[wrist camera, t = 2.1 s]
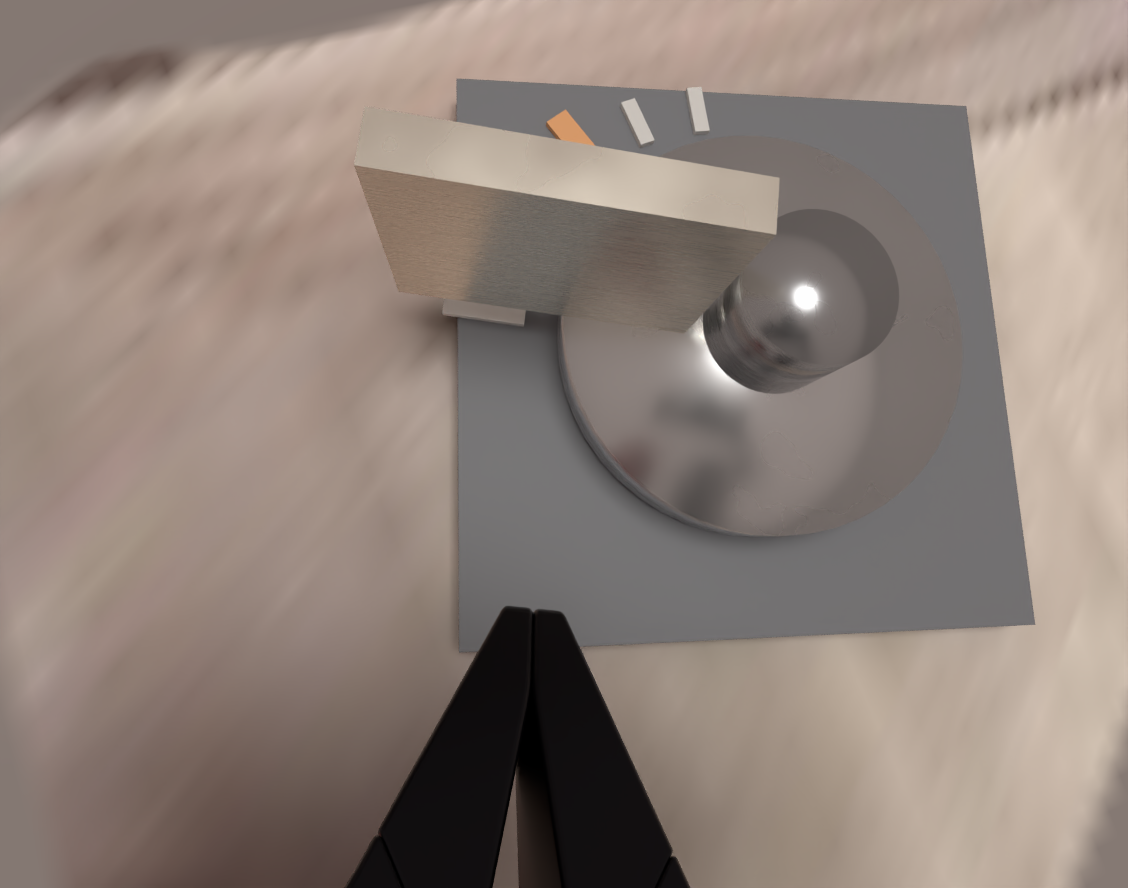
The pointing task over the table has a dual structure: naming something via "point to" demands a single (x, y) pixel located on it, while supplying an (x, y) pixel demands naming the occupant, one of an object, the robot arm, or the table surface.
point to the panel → (687, 553)
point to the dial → (694, 307)
